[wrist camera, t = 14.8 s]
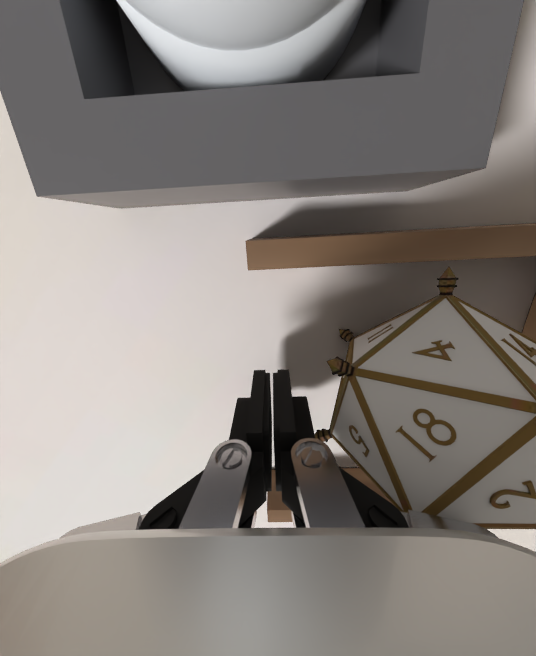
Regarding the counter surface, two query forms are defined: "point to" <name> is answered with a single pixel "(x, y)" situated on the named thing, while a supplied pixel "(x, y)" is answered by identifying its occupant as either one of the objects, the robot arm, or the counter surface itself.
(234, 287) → the counter surface
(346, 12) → the dome
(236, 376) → the counter surface
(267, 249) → the walnut bay
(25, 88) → the dome base
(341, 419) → the game die
